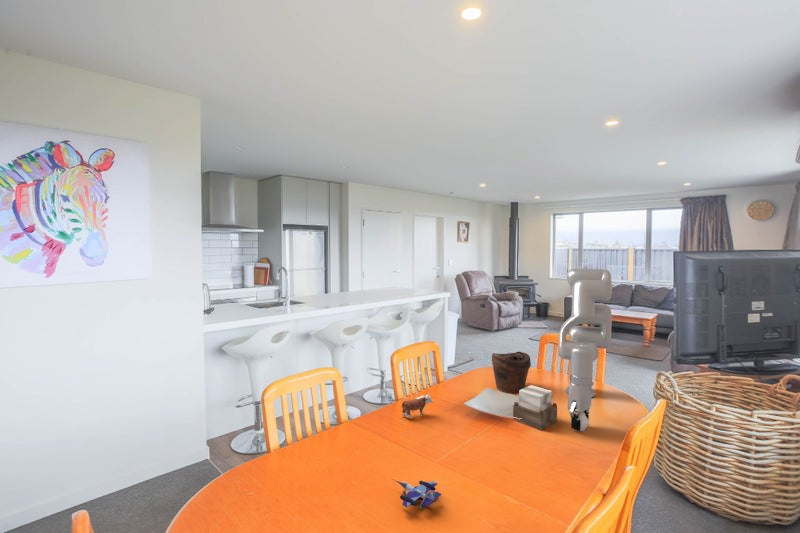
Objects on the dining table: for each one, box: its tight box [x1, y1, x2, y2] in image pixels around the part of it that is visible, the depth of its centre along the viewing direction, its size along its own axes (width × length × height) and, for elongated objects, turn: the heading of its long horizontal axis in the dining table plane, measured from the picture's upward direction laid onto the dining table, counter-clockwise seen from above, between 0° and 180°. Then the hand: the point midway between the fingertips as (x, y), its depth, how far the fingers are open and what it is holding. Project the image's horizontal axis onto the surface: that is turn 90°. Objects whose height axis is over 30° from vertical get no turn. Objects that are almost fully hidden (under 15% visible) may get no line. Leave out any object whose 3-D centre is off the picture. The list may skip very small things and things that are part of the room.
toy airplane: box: [392, 478, 442, 510], centre depth 109 cm, size 13×14×4 cm
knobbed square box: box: [512, 384, 558, 431], centre depth 157 cm, size 12×12×12 cm
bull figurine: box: [401, 394, 434, 420], centre depth 162 cm, size 4×13×8 cm, turn 112°
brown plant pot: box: [491, 351, 532, 394], centre depth 192 cm, size 18×20×18 cm
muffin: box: [575, 412, 590, 432], centre depth 150 cm, size 6×6×7 cm
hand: (579, 426), depth 150 cm, fingers closed on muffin, 6 cm apart
